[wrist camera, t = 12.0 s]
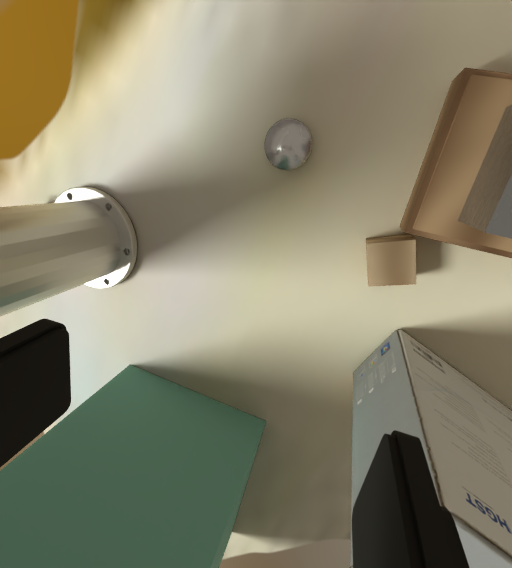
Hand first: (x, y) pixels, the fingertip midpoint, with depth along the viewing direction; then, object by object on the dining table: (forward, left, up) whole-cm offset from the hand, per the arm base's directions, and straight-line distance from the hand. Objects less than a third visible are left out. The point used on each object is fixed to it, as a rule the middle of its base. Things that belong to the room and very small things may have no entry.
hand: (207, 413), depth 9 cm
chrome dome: (-5, +8, -27) cm, 28 cm away
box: (-11, -36, -27) cm, 46 cm away
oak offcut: (+7, 0, -26) cm, 27 cm away
